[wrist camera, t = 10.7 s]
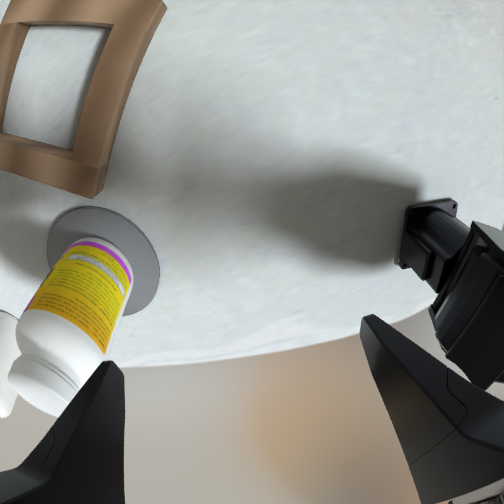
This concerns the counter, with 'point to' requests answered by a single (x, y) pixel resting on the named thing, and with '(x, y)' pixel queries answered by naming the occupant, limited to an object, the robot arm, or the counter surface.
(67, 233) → the coaster
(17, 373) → the supplement bottle
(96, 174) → the pocket block
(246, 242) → the counter surface
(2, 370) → the pill bottle
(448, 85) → the counter surface
